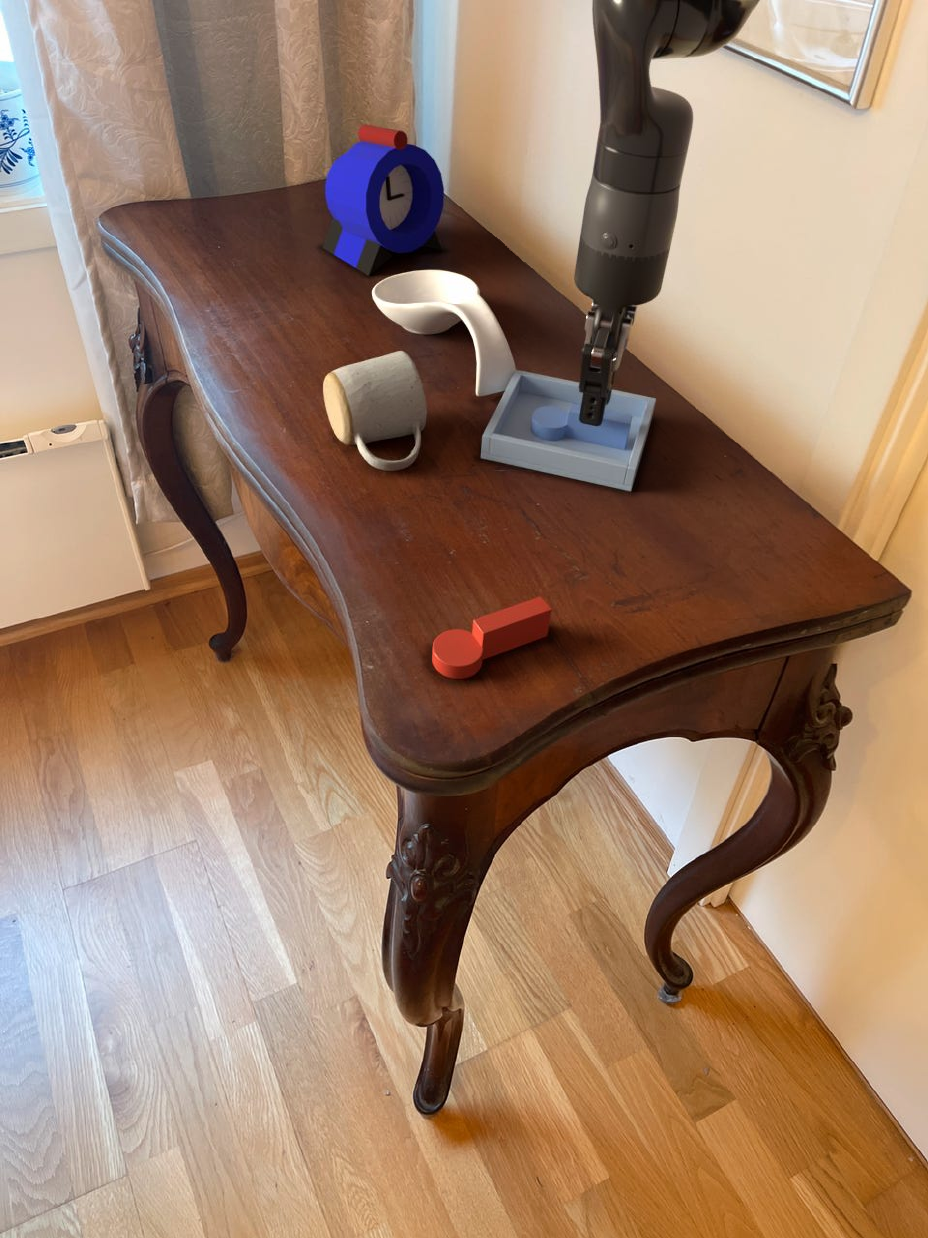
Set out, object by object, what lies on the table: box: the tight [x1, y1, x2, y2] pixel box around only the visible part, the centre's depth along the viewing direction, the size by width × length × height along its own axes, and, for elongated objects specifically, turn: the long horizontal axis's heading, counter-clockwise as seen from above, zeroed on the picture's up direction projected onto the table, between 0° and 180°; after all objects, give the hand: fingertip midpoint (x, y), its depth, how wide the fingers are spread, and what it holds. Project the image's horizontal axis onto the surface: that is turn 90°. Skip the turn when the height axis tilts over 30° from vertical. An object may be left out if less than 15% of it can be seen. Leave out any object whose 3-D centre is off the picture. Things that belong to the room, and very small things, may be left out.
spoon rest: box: [371, 269, 517, 397], centre depth 101 cm, size 24×12×7 cm, turn 28°
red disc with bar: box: [431, 596, 553, 680], centre depth 71 cm, size 10×4×3 cm, turn 118°
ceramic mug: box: [322, 350, 428, 472], centre depth 87 cm, size 11×8×8 cm
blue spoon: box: [531, 403, 633, 450], centre depth 91 cm, size 10×4×3 cm, turn 73°
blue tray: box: [480, 369, 657, 492], centre depth 91 cm, size 15×13×3 cm
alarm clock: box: [322, 124, 445, 277], centre depth 115 cm, size 12×12×15 cm
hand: (594, 411), depth 90 cm, fingers open, 3 cm apart
